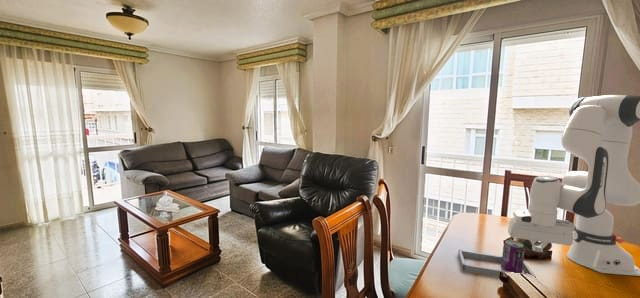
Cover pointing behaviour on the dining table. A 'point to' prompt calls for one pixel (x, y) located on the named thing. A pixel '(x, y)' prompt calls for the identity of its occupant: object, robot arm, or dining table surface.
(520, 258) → the beverage can
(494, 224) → the dining table surface
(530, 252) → the clay ocarina
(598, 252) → the robot arm
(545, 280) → the dining table surface
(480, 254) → the frame
